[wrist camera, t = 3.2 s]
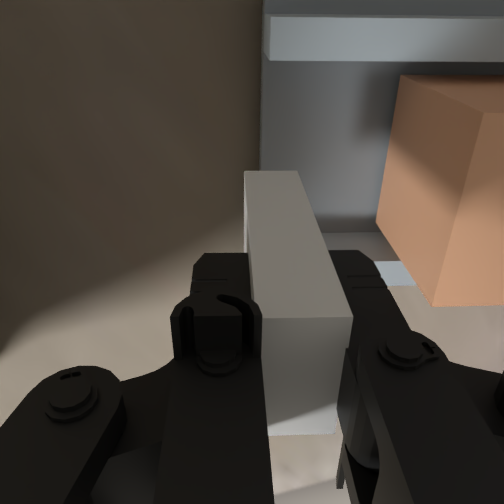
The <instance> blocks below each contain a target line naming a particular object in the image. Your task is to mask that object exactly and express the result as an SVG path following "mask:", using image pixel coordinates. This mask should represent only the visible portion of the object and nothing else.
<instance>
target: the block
mask: <svg viewBox="0 0 504 504" xmlns="http://www.w3.org/2000/svg"><path fill="white" fill-rule="evenodd" d="M376 224H377V225H378V227H379V228H380V230H381V231H382V233H383V234H384V236H385V237H386V239H387V240H388V242H389V243H390V245H391V246H392V248H393V249H394V251H395V252H396V254H397V255H398V257H399V259H400V260H401V262H402V263H403V265H404V266H405V268H406V269H407V271H408V272H409V274H410V275H411V277H412V278H413V280H414V281H415V283H416V284H417V286H418V287H419V289H420V290H421V292H422V293H423V295H424V296H425V298H426V299H427V301H428V302H429V304H430V305H431V307H443V306H484V305H504V75H400V81H399V87H398V93H397V99H396V104H395V110H394V116H393V122H392V128H391V134H390V140H389V146H388V151H387V157H386V163H385V169H384V175H383V181H382V187H381V193H380V198H379V204H378V210H377V216H376Z"/></svg>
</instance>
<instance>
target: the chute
mask: <svg viewBox="0 0 504 504" xmlns="http://www.w3.org/2000/svg"><path fill="white" fill-rule="evenodd" d="M400 75H504V0H263V3H262V53H261V102H260V151H259V171H298V174H299V177H300V179H301V182H302V184H303V187H304V190H305V192H306V195H307V197H308V200H309V203H310V205H311V208H312V210H313V213H314V216H315V218H316V221H317V223H318V226H319V229H320V231H321V234H322V236H323V239H324V242H325V244H326V247H327V250H359V251H361V252H362V253H363V254H365V255H366V256H367V257H369V258H370V259H371V260H373V261H374V263H375V265H376V267H377V268H378V270H379V272H380V274H381V278H383V279H384V281H385V283H386V285H387V286H404V285H417V284H416V283H415V281H414V280H413V278H412V277H411V275H410V274H409V272H408V271H407V269H406V268H405V266H404V265H403V263H402V262H401V260H400V259H399V257H398V255H397V254H396V252H395V251H394V249H393V248H392V246H391V245H390V243H389V242H388V240H387V239H386V237H385V236H384V234H383V233H382V231H381V230H380V228H379V227H378V225H377V224H376V216H377V210H378V204H379V198H380V193H381V187H382V181H383V175H384V169H385V163H386V157H387V151H388V146H389V140H390V134H391V128H392V122H393V116H394V110H395V104H396V99H397V93H398V87H399V81H400Z"/></svg>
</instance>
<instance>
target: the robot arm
mask: <svg viewBox="0 0 504 504" xmlns="http://www.w3.org/2000/svg"><path fill="white" fill-rule="evenodd" d="M170 322H171V332H172V342H173V351H174V358H173V359H172V360H171V361H170V362H169V363H168V364H167V365H165V366H163V367H161V368H160V369H158V370H156V371H154V372H151V373H148V374H146V375H143V376H139V377H136V378H132V379H128V380H125V381H121V382H120V380H119V379H118V378H117V377H116V376H115V375H114V374H113V373H112V372H111V371H109V370H106V369H103V368H101V367H98V366H76V367H72V368H69V369H65V370H61V371H59V372H57V373H55V374H53V375H51V376H49V377H47V378H45V379H44V380H42V381H41V382H40V383H39V384H38V385H37V386H36V387H34V388H33V389H32V390H31V391H30V392H29V393H28V394H27V396H26V397H25V398H24V399H23V400H22V402H21V403H20V404H19V405H18V406H17V408H16V409H15V410H14V411H13V413H12V414H11V415H10V416H9V417H8V419H7V420H6V421H5V422H4V424H3V425H2V426H1V427H0V504H274V494H273V483H272V472H271V461H270V449H269V438H268V436H276V435H310V434H335V429H336V422H337V416H338V417H339V421H340V425H341V429H342V433H343V442H342V448H341V453H340V459H339V465H338V470H337V476H336V482H337V483H336V486H337V489H343V484H344V479H345V480H346V484H347V488H348V493H349V497H350V501H351V504H504V371H503V374H501V373H496V372H491V371H486V370H482V369H477V368H472V367H467V366H463V365H460V364H456V363H453V362H450V361H449V360H448V358H447V357H446V355H445V353H444V352H443V351H442V350H441V349H440V348H439V347H438V345H437V344H436V343H435V342H433V341H432V340H430V339H429V338H427V337H425V336H424V335H422V334H420V333H417V332H415V331H412V330H411V329H410V328H409V326H408V324H407V322H406V320H405V318H404V316H403V315H402V313H401V311H400V309H399V307H398V305H397V303H396V302H395V300H394V298H393V296H392V294H391V292H390V291H389V290H387V285H386V283H385V281H384V279H383V278H381V274H380V272H379V270H378V268H377V267H376V265H375V263H374V261H373V260H371V259H370V258H369V257H367V256H366V255H365V254H363V253H362V252H361V251H359V250H327V247H326V244H325V242H324V239H323V236H322V234H321V231H320V229H319V226H318V223H317V221H316V218H315V216H314V213H313V210H312V208H311V205H310V203H309V200H308V197H307V195H306V192H305V190H304V187H303V184H302V182H301V179H300V177H299V174H298V171H244V253H204V254H203V255H202V257H201V258H200V259H199V260H198V261H197V262H196V263H195V264H194V266H193V274H192V282H191V288H190V296H188V297H186V298H185V299H184V300H182V301H181V302H180V303H179V304H177V305H176V306H175V308H174V310H173V312H172V314H171V316H170Z"/></svg>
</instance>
